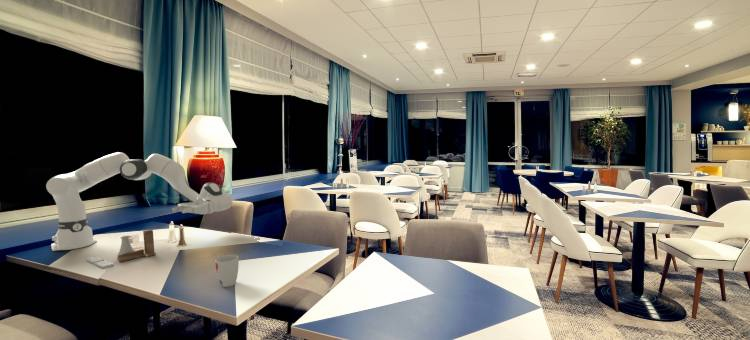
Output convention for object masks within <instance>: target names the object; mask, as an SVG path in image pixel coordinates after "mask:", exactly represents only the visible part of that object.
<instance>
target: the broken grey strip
mask: <svg viewBox="0 0 750 340" xmlns="http://www.w3.org/2000/svg"><path fill="white" fill-rule="evenodd" d="M85 261H86V262H88V263H91V264H92V265H94V266H96V267H97V268H98V267H99V268H101V269H107V268H112V267H114V263H113V262H110V261H108V260H106V259H105V260H104V259H103V258H102V257H99V256H97V255H95V256H92V257H88V258H85Z"/></svg>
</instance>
